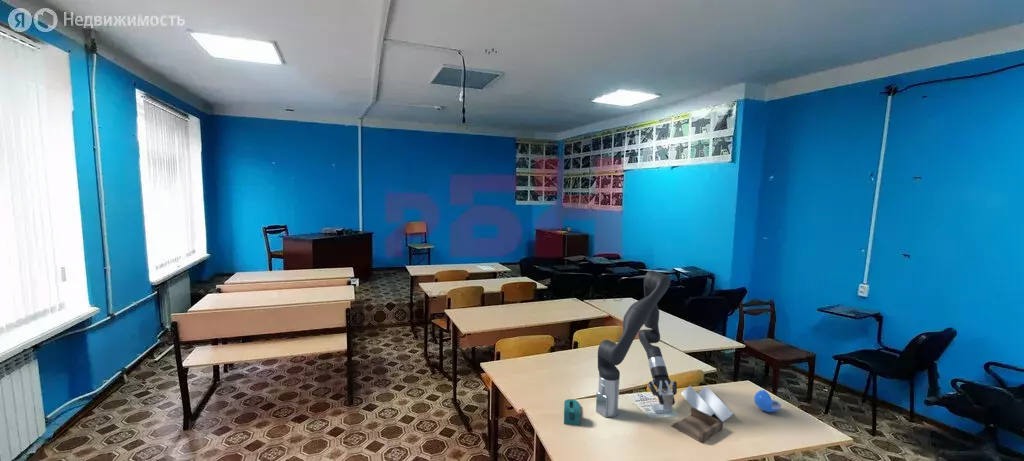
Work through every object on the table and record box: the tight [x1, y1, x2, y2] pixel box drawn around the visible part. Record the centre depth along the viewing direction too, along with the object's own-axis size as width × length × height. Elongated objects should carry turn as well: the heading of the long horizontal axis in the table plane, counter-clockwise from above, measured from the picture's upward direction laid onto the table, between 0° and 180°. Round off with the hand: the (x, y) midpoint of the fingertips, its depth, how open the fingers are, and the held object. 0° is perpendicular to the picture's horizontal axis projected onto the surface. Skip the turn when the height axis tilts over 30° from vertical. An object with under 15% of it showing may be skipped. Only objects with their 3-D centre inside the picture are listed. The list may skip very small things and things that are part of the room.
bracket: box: [563, 398, 581, 426], centre depth 183 cm, size 18×7×8 cm, turn 172°
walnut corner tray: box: [670, 406, 724, 444], centre depth 174 cm, size 16×14×4 cm
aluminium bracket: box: [651, 389, 674, 414], centre depth 187 cm, size 8×4×9 cm, turn 95°
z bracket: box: [680, 385, 734, 423], centre depth 192 cm, size 12×25×6 cm
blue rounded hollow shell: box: [753, 389, 783, 413], centre depth 190 cm, size 10×12×10 cm
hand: (667, 404), depth 185 cm, fingers closed on aluminium bracket, 4 cm apart
